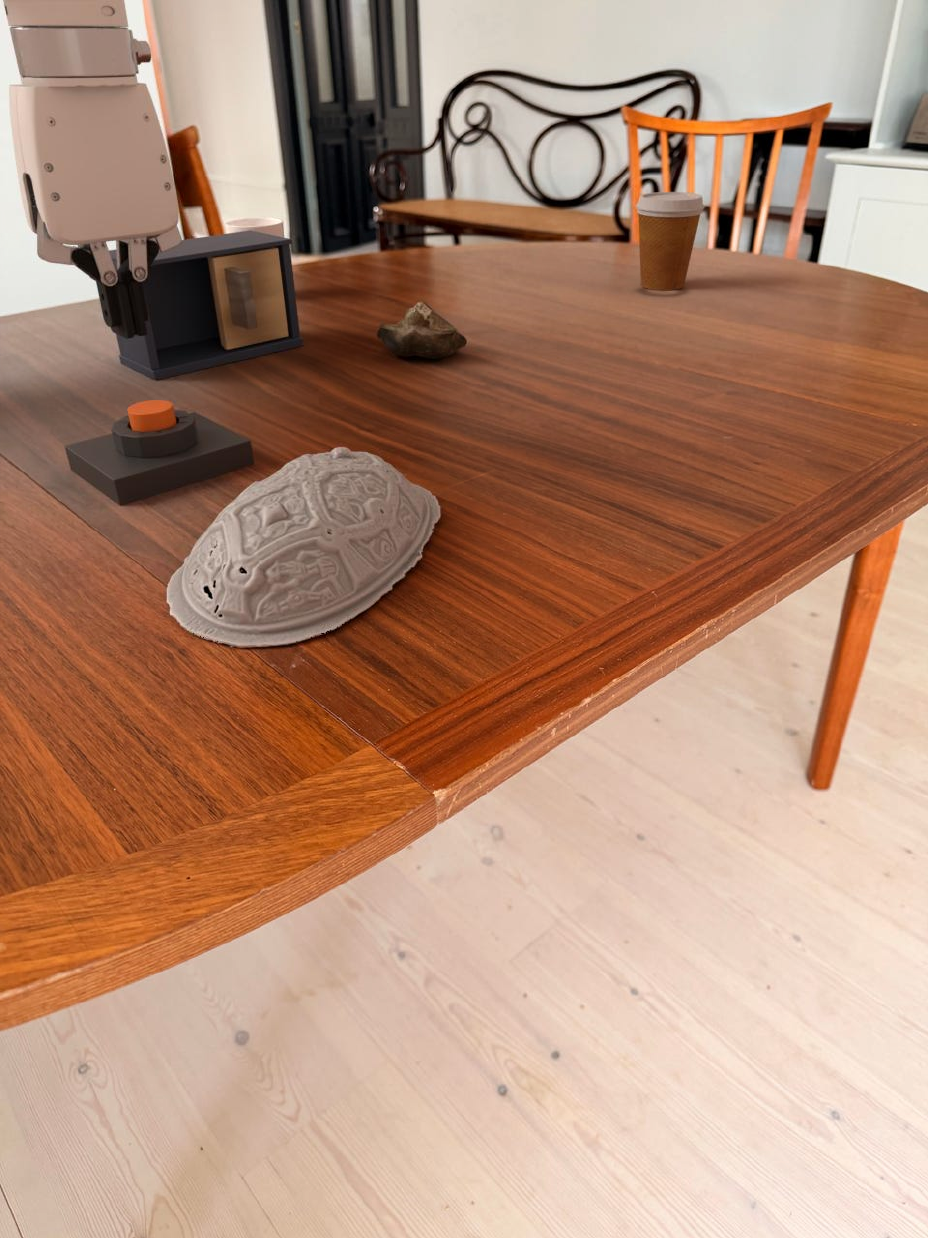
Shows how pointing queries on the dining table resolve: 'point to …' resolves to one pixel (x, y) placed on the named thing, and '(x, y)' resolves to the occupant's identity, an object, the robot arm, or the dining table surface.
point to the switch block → (158, 457)
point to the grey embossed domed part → (303, 551)
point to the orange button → (151, 415)
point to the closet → (199, 308)
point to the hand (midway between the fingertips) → (129, 333)
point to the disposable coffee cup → (667, 237)
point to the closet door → (249, 297)
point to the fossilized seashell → (421, 334)
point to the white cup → (257, 226)
